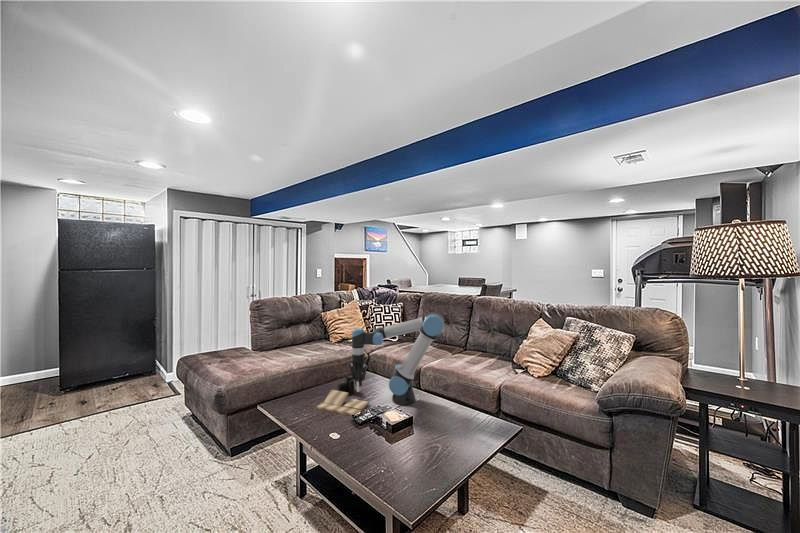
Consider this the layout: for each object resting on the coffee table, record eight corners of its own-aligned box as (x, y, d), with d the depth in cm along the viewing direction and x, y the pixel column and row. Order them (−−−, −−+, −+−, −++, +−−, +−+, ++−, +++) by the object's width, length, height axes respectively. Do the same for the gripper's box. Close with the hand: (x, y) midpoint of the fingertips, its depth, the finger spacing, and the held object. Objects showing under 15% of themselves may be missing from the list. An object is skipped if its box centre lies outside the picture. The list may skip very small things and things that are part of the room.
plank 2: (369, 403, 211) (369, 401, 211) (361, 411, 202) (361, 409, 202) (351, 400, 216) (351, 398, 216) (343, 407, 207) (343, 405, 206)
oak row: (361, 412, 200) (361, 410, 200) (356, 416, 195) (356, 414, 195) (322, 404, 211) (322, 402, 211) (316, 408, 205) (316, 406, 205)
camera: (334, 389, 236) (335, 375, 236) (349, 387, 240) (349, 373, 240) (340, 396, 223) (340, 381, 223) (355, 394, 228) (355, 379, 228)
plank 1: (348, 393, 215) (348, 392, 214) (341, 407, 207) (340, 405, 206) (331, 390, 220) (331, 389, 219) (324, 403, 212) (323, 402, 211)
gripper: (370, 353, 211) (370, 390, 211) (352, 351, 216) (352, 387, 216) (364, 356, 204) (365, 394, 204) (346, 354, 209) (346, 391, 209)
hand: (358, 391), depth 210 cm, fingers closed
